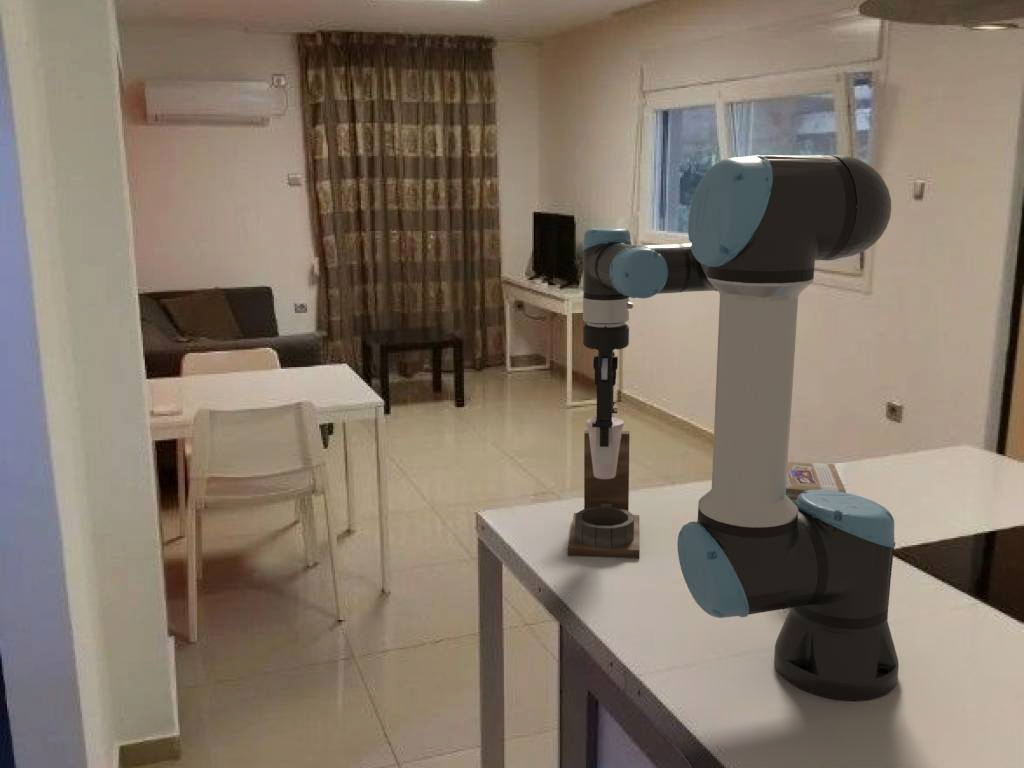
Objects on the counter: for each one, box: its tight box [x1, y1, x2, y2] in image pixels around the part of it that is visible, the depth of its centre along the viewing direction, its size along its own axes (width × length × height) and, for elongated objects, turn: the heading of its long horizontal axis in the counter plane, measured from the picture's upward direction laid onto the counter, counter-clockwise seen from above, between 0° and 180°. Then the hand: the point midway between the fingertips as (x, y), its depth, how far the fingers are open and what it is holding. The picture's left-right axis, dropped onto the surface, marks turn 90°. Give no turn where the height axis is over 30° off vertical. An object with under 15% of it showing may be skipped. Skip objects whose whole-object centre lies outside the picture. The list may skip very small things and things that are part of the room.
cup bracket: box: [567, 429, 641, 559], centre depth 161 cm, size 16×12×18 cm
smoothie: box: [585, 416, 625, 479], centre depth 156 cm, size 6×6×14 cm
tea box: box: [786, 461, 847, 506], centre depth 152 cm, size 15×10×15 cm, turn 168°
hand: (604, 457), depth 157 cm, fingers closed on smoothie, 6 cm apart
